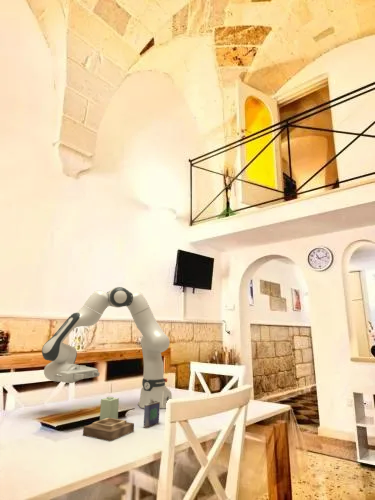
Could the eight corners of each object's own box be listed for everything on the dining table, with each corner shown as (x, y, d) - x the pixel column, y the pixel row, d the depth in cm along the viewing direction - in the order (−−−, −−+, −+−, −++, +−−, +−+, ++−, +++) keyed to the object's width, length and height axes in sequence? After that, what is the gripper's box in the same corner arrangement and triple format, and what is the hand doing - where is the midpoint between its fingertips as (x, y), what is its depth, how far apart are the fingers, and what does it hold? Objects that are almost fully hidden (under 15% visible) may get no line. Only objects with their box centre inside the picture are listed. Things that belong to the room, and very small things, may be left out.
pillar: (108, 421, 148) (109, 395, 151) (117, 422, 145) (118, 397, 148) (99, 423, 143) (101, 397, 146) (109, 425, 141) (110, 399, 143)
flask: (146, 428, 137) (147, 400, 140) (141, 427, 139) (142, 400, 142) (160, 423, 145) (161, 397, 147) (155, 422, 146) (156, 396, 149)
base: (107, 426, 140) (108, 415, 141) (133, 431, 133) (134, 420, 134) (82, 435, 128) (83, 423, 129) (110, 441, 121) (111, 428, 122)
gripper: (53, 368, 153) (75, 370, 146) (86, 365, 170) (106, 366, 164) (52, 382, 151) (73, 385, 145) (85, 377, 169) (105, 380, 162)
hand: (91, 375), depth 155 cm, fingers open, 8 cm apart
